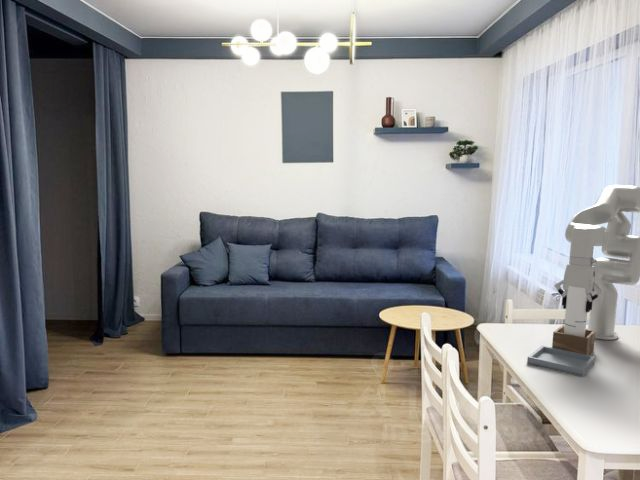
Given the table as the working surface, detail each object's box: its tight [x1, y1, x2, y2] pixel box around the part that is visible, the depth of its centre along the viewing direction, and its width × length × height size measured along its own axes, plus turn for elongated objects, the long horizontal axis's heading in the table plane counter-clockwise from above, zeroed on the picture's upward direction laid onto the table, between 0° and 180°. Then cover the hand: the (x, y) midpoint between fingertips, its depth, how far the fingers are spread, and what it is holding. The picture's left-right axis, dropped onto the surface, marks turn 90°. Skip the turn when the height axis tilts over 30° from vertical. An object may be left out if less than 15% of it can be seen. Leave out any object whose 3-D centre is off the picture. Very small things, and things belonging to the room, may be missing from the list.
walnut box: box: [551, 324, 596, 356], centre depth 213 cm, size 12×12×8 cm
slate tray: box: [526, 345, 596, 378], centre depth 202 cm, size 16×18×2 cm
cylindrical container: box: [563, 286, 588, 337], centre depth 212 cm, size 7×7×25 cm
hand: (576, 309), depth 211 cm, fingers closed on cylindrical container, 7 cm apart
